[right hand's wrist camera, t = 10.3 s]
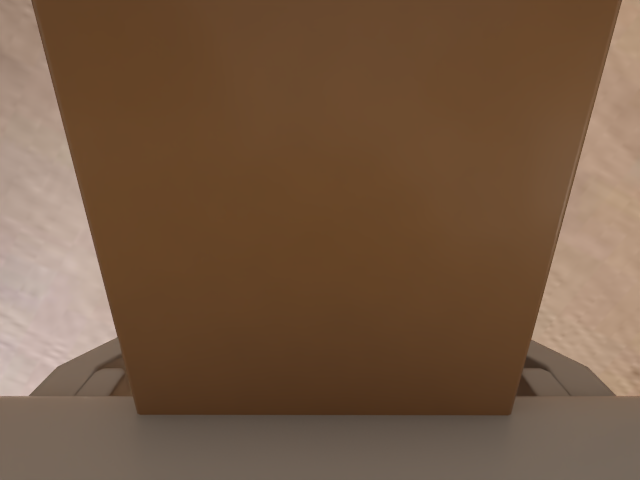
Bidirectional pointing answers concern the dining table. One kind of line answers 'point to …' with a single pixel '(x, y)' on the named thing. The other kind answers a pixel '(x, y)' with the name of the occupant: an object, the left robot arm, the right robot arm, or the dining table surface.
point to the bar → (325, 191)
